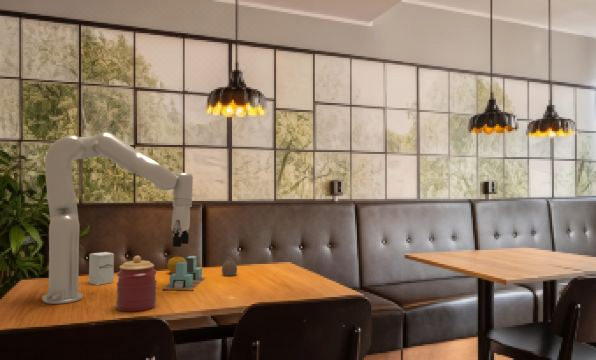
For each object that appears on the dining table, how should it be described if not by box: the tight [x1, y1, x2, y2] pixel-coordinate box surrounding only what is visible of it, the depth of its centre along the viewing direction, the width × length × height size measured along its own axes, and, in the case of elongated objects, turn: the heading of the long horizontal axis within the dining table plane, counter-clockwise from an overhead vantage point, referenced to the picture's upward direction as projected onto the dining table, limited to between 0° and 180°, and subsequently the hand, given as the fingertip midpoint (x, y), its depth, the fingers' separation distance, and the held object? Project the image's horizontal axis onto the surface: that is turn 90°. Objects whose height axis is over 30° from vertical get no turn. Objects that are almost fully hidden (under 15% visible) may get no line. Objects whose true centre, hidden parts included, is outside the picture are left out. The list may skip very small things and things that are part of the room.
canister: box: [115, 255, 158, 312], centre depth 152 cm, size 13×13×18 cm
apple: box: [166, 255, 186, 275], centre depth 205 cm, size 9×9×9 cm
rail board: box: [162, 273, 207, 293], centre depth 185 cm, size 22×12×4 cm, turn 177°
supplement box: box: [88, 251, 115, 286], centre depth 188 cm, size 7×7×13 cm
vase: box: [221, 257, 238, 277], centre depth 202 cm, size 7×7×9 cm
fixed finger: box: [185, 255, 203, 280], centre depth 193 cm, size 8×6×10 cm
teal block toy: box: [168, 261, 193, 288], centre depth 179 cm, size 8×6×10 cm
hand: (180, 245), depth 179 cm, fingers open, 9 cm apart
